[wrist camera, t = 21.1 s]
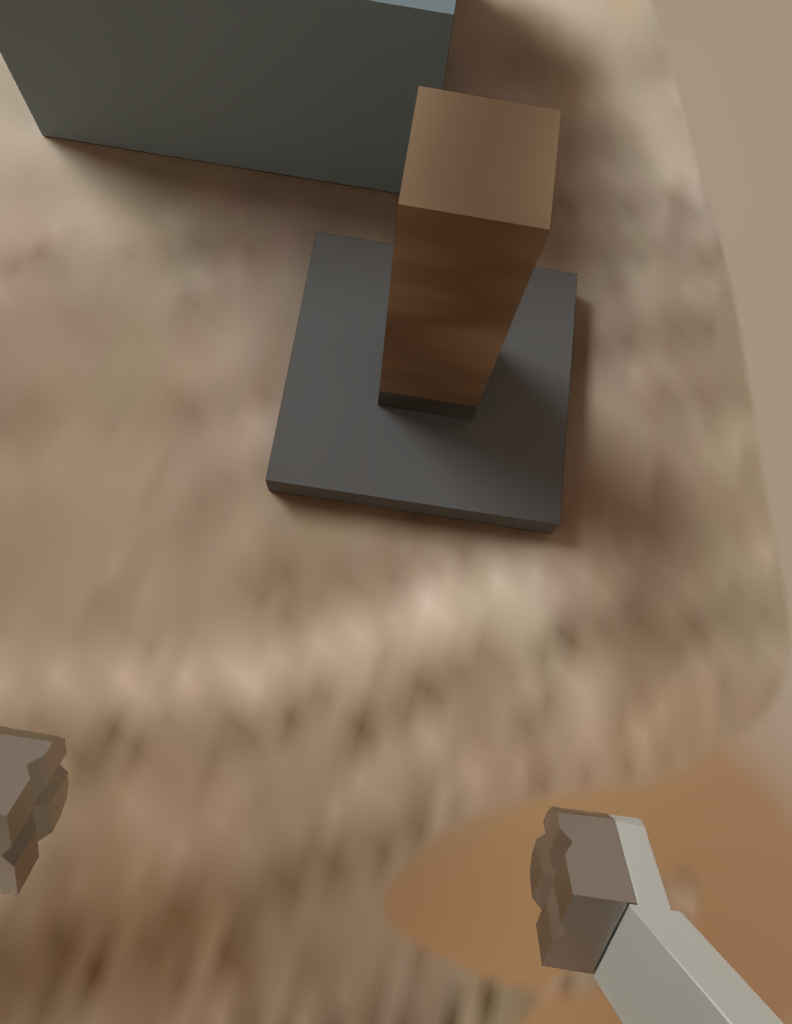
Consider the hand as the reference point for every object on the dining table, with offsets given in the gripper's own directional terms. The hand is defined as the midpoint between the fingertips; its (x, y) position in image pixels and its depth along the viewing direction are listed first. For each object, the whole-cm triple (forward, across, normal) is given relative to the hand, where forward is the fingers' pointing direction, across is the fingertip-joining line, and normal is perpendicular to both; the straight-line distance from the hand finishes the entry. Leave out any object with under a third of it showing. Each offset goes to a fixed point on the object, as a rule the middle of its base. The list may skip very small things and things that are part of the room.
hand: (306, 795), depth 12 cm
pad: (+15, -2, -3) cm, 15 cm away
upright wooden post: (+14, -2, -3) cm, 15 cm away
